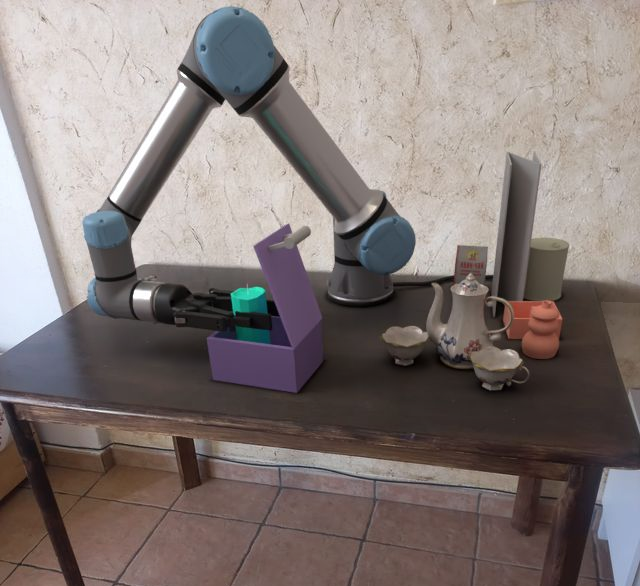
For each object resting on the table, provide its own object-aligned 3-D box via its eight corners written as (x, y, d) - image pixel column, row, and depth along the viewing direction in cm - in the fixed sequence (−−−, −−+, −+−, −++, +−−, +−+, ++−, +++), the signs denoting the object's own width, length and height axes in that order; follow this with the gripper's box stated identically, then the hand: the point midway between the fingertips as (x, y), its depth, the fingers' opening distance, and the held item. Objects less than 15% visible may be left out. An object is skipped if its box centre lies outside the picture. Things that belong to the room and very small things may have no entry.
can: (539, 305, 134) (548, 250, 127) (509, 292, 141) (516, 240, 134) (570, 295, 137) (579, 242, 131) (539, 284, 144) (546, 232, 138)
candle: (276, 342, 113) (270, 279, 107) (260, 356, 109) (253, 291, 102) (248, 338, 115) (241, 276, 109) (231, 351, 111) (222, 287, 104)
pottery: (503, 320, 128) (508, 274, 123) (550, 320, 127) (558, 274, 121) (514, 359, 113) (521, 309, 108) (568, 360, 112) (578, 309, 106)
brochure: (520, 318, 129) (541, 164, 112) (493, 317, 130) (510, 164, 113) (516, 293, 140) (535, 151, 124) (491, 292, 141) (506, 151, 125)
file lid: (252, 245, 94) (282, 236, 92) (286, 224, 104) (313, 215, 102) (291, 347, 102) (320, 342, 99) (319, 318, 111) (346, 313, 109)
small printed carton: (455, 284, 147) (458, 242, 141) (484, 286, 145) (488, 244, 139) (453, 290, 144) (456, 247, 138) (482, 292, 142) (487, 249, 136)
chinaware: (367, 374, 114) (362, 291, 104) (406, 332, 125) (404, 254, 115) (518, 410, 101) (529, 320, 91) (547, 360, 112) (559, 274, 102)
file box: (213, 380, 112) (206, 338, 107) (244, 350, 121) (239, 311, 117) (297, 393, 106) (293, 349, 102) (323, 361, 116) (321, 320, 111)
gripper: (193, 304, 124) (299, 316, 116) (140, 341, 110) (257, 357, 102) (187, 268, 119) (296, 277, 112) (131, 301, 105) (252, 315, 98)
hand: (277, 315), depth 107 cm, fingers closed on candle, 5 cm apart
